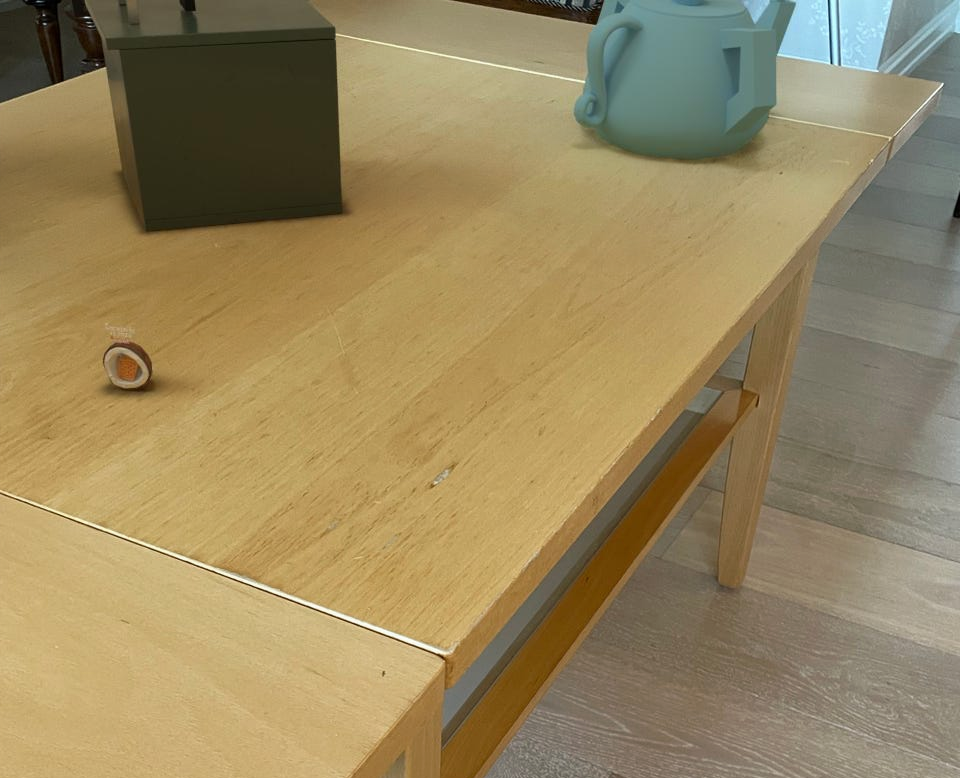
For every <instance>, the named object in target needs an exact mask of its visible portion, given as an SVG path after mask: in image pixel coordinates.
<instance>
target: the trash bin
mask: <svg viewBox="0 0 960 778" xmlns="http://www.w3.org/2000/svg"><path fill="white" fill-rule="evenodd" d="M100 38H101V37H100ZM101 44H102V51H103V56H104V63H105V64H104V65H105V70H106V76H107V82H108V88H109V97H110V101H111V102H110V103H111V107H112V114H113V121H114V127H115V134H116V139H117V146H118V153H119V161H120V165H121V172H122V175H123V178H124V180H125V182H126V185H127V187H128V190H129V193H130V195H131V197H132V199H133V203H134V205H135V206H136V210H137V213H138V215H139V218H140V220H141V222H142V225H143V227H144V229H145V232H153V231H165V230H175V229H185V228H196V227H197V228H198V227H206V226H219V225H228V224H229V225H230V224H239V223H251V222H260V221H261V222H262V221H272V220H273V221H274V220H282V219H293V218H303V217H305V218H306V217H314V216H315V217H316V216H325V215H335V214H337V215H338V214H343V194H342V192H343V191H342V170H341V169H342V168H341V165H342V164H341V143H340V142H341V141H340V140H341V139H340V112H339V111H340V110H339V86H338V83H339V82H338V59H337V57H338V56H337V39H336V38H335V39H317V40H298V41H278V42H259V43H239V44H220V45H200V46H181V47H161V48H141V49H122V50H107V48H106V46H105V44H104V42H103V40H102V38H101Z"/></svg>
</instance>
